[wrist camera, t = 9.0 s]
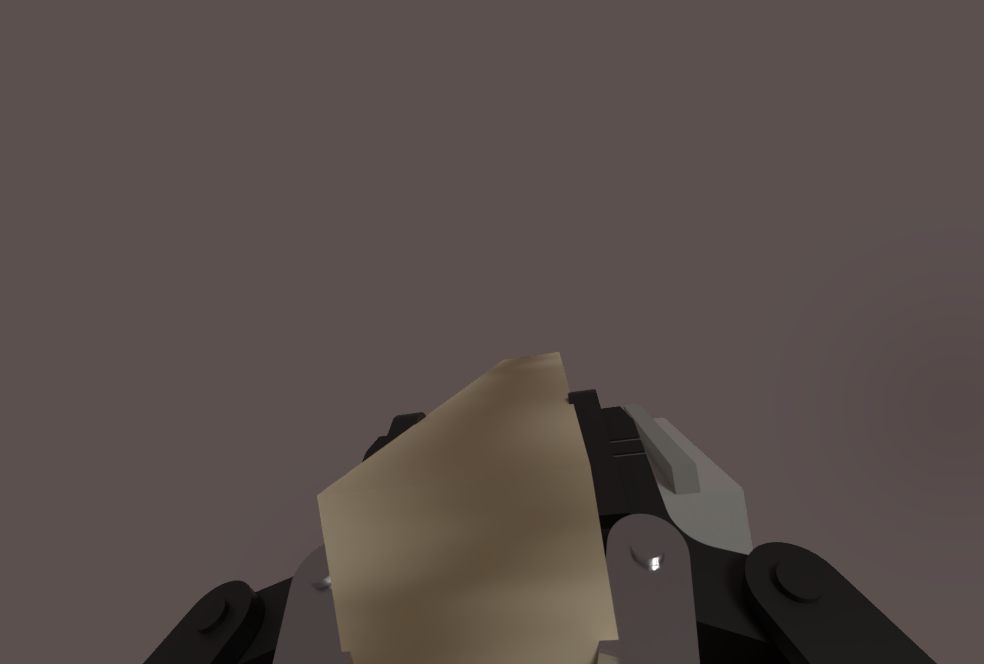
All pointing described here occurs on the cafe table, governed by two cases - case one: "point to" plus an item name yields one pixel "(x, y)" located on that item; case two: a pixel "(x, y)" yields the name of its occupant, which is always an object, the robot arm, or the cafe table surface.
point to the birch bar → (474, 533)
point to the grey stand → (693, 486)
